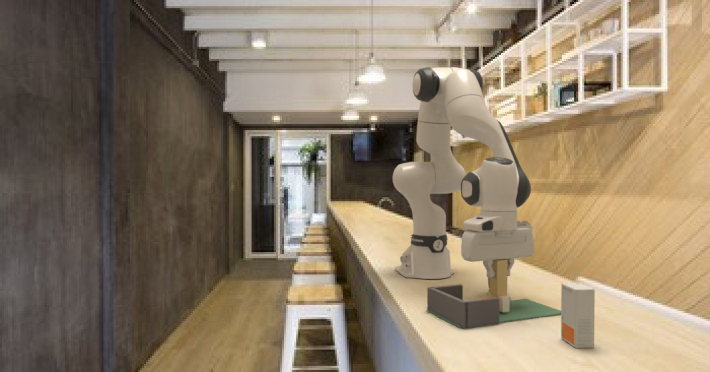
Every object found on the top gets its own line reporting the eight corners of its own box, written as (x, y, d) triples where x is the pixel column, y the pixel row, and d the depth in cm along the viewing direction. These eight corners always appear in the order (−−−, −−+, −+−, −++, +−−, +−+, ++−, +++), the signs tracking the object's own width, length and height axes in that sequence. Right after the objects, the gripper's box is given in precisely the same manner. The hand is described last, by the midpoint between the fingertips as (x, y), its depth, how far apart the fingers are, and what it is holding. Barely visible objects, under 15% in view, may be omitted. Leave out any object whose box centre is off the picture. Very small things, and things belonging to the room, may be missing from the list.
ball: (482, 291, 128) (491, 301, 129) (473, 303, 127) (482, 313, 128) (492, 294, 125) (501, 305, 126) (482, 307, 124) (492, 317, 125)
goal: (427, 310, 130) (427, 287, 130) (460, 306, 133) (460, 284, 133) (463, 329, 114) (463, 302, 114) (499, 324, 118) (499, 298, 118)
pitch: (427, 311, 129) (427, 309, 129) (525, 300, 140) (525, 298, 140) (459, 328, 115) (459, 326, 115) (566, 314, 126) (566, 312, 126)
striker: (486, 306, 130) (486, 257, 130) (496, 305, 131) (496, 257, 131) (501, 312, 124) (501, 261, 124) (511, 311, 125) (511, 260, 125)
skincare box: (560, 338, 108) (560, 282, 107) (579, 338, 108) (579, 282, 108) (574, 348, 102) (575, 289, 101) (595, 348, 102) (595, 288, 102)
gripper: (523, 219, 134) (522, 271, 134) (457, 222, 126) (457, 277, 127) (540, 221, 128) (539, 275, 129) (472, 224, 120) (472, 282, 121)
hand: (498, 276), depth 128 cm, fingers closed on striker, 3 cm apart
